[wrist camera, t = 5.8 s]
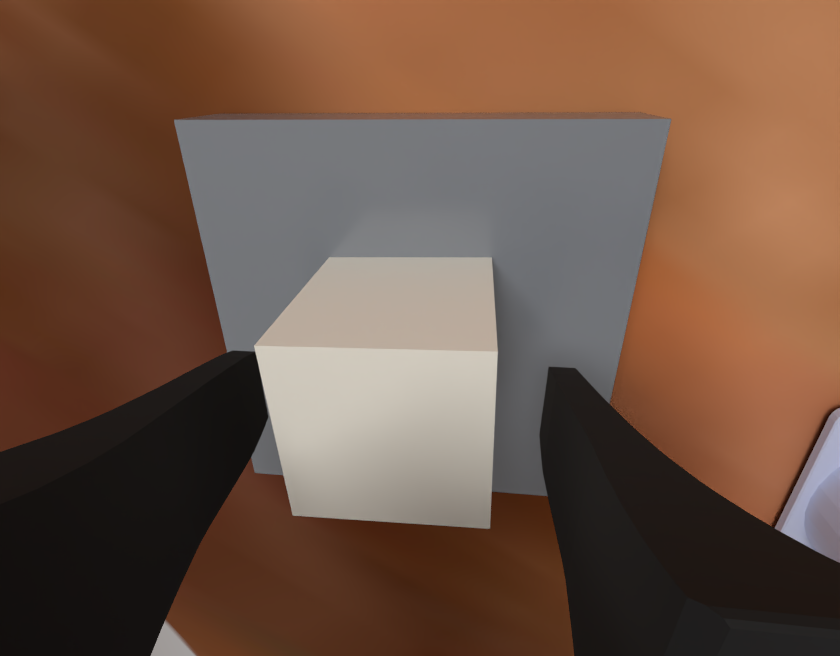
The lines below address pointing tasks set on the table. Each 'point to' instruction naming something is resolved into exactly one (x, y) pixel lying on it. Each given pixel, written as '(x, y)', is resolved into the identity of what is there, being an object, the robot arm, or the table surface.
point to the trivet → (438, 231)
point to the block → (387, 390)
